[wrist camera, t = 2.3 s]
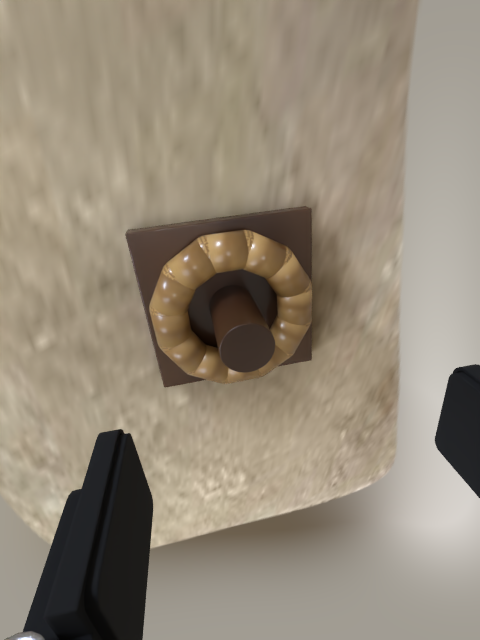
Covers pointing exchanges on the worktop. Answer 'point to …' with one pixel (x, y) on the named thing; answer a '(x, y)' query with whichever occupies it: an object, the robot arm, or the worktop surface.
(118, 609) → the robot arm
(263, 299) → the peg stand
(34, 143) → the worktop surface
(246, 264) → the ring
